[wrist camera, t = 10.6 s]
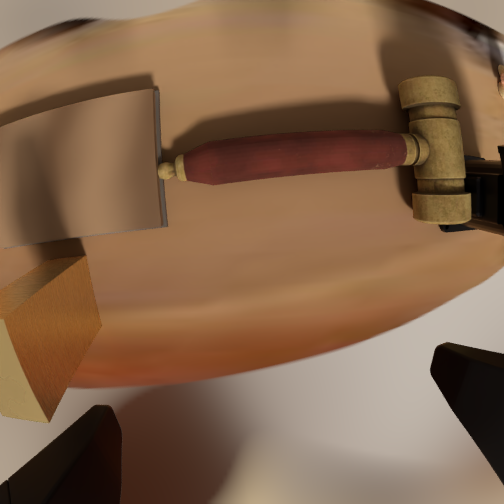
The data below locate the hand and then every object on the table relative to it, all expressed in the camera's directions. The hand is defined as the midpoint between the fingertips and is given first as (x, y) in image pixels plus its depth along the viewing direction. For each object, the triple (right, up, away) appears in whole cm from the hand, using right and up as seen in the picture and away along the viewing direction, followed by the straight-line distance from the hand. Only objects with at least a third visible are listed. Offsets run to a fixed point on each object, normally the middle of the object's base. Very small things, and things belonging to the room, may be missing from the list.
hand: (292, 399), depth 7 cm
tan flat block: (-12, +9, +9) cm, 18 cm away
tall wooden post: (-13, +1, +11) cm, 17 cm away
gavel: (+4, +10, +12) cm, 16 cm away
